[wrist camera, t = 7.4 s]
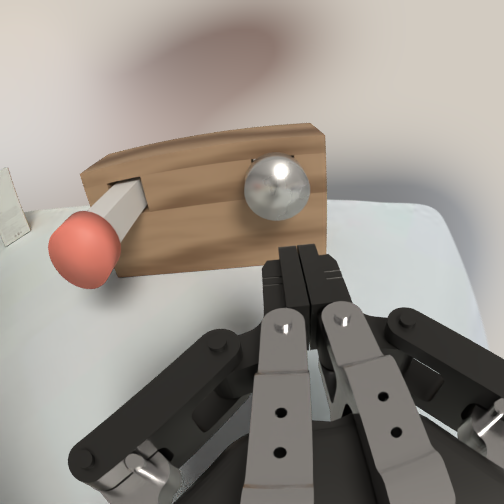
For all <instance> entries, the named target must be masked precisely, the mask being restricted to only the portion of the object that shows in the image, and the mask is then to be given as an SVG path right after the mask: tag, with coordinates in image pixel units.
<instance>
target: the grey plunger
mask: <svg viewBox="0 0 504 504" xmlns="http://www.w3.org/2000/svg"><path fill="white" fill-rule="evenodd" d="M244 194H245V199H246V202H247V204H248V206H249V207H250V209H251V210H252V211H253V212H254V213H255V214H257V215H258V216H260V217H262V218H264V219H267V220H273V221H280V220H286V219H289V218H291V217H293V216H295V215H297V214H298V213H299V212H300V211H301V210H302V209H303V208H304V207H305V205H306V204H307V202H308V199H309V195H310V184H309V180H308V178H307V176H306V174H305V172H304V170H303V168H302V166H301V165H300V164H299V162H298V161H297V160H296V159H294V158H293V157H291V156H290V155H287V154H284V153H279V152H272V153H267V154H264V155H262V156H260V157H258V158H257V159H255V160H254V161H253V162H252V163H251V165H250V166H249V168H248V170H247V172H246V176H245V187H244Z"/></svg>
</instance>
